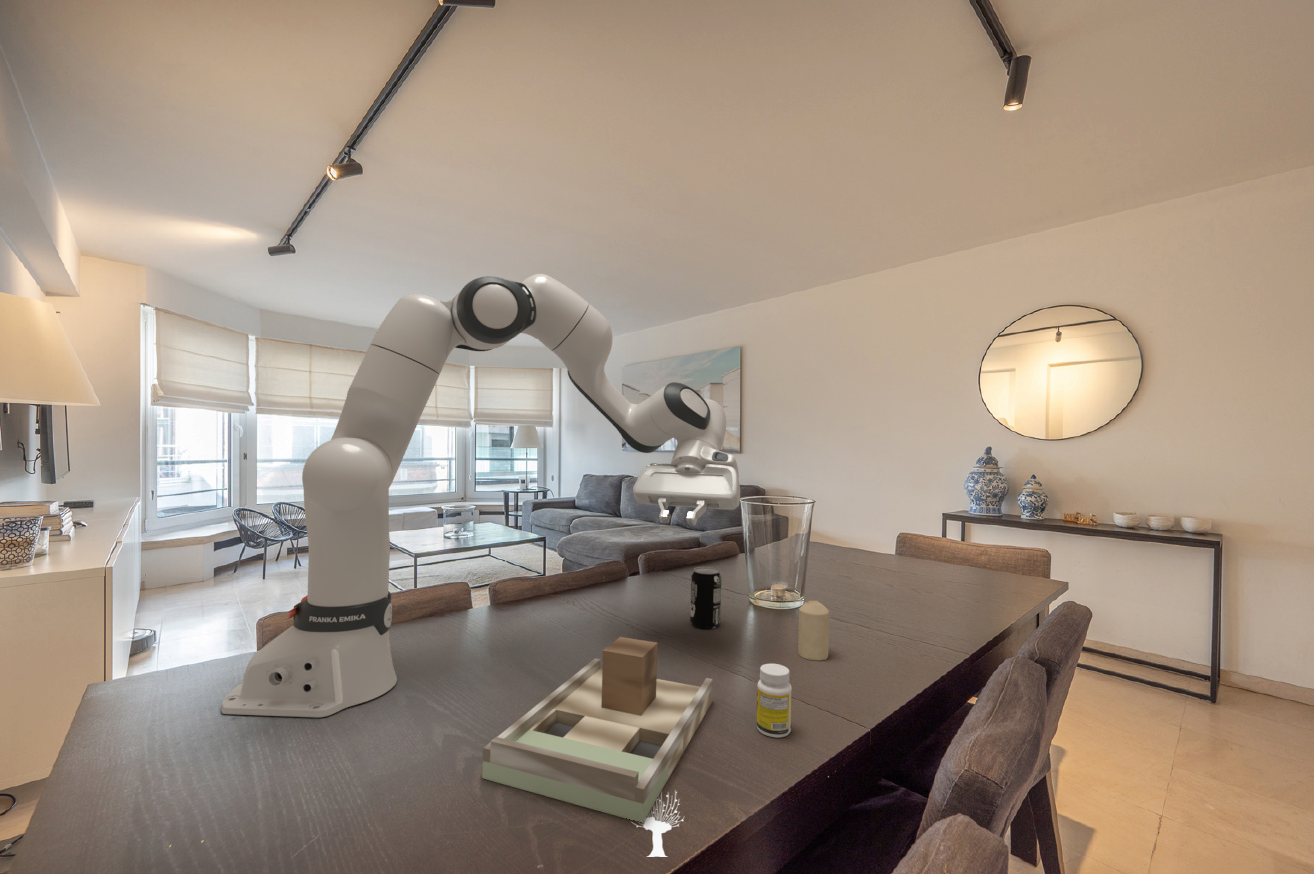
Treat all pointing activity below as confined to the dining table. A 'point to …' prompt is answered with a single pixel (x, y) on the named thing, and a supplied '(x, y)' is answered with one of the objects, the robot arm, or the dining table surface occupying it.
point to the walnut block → (629, 675)
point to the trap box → (605, 734)
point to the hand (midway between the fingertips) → (677, 521)
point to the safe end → (576, 793)
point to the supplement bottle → (774, 701)
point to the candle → (813, 631)
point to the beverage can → (705, 597)
